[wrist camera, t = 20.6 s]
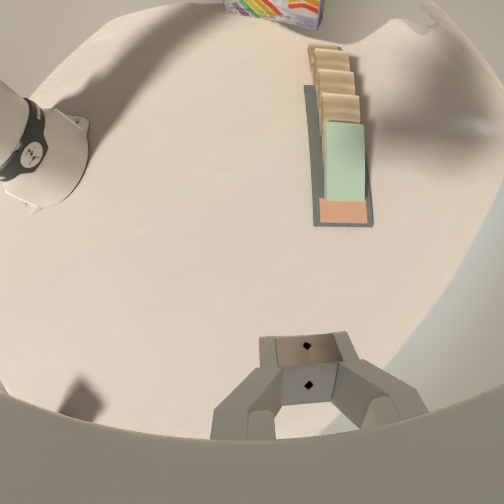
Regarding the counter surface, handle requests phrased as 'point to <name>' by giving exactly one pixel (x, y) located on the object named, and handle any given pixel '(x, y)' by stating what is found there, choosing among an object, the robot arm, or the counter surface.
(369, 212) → the charcoal mat
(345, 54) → the maple domino
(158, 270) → the counter surface
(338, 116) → the maple domino
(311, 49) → the maple domino
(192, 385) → the counter surface
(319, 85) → the maple domino
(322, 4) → the cake pan box
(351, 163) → the sage domino
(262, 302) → the counter surface
